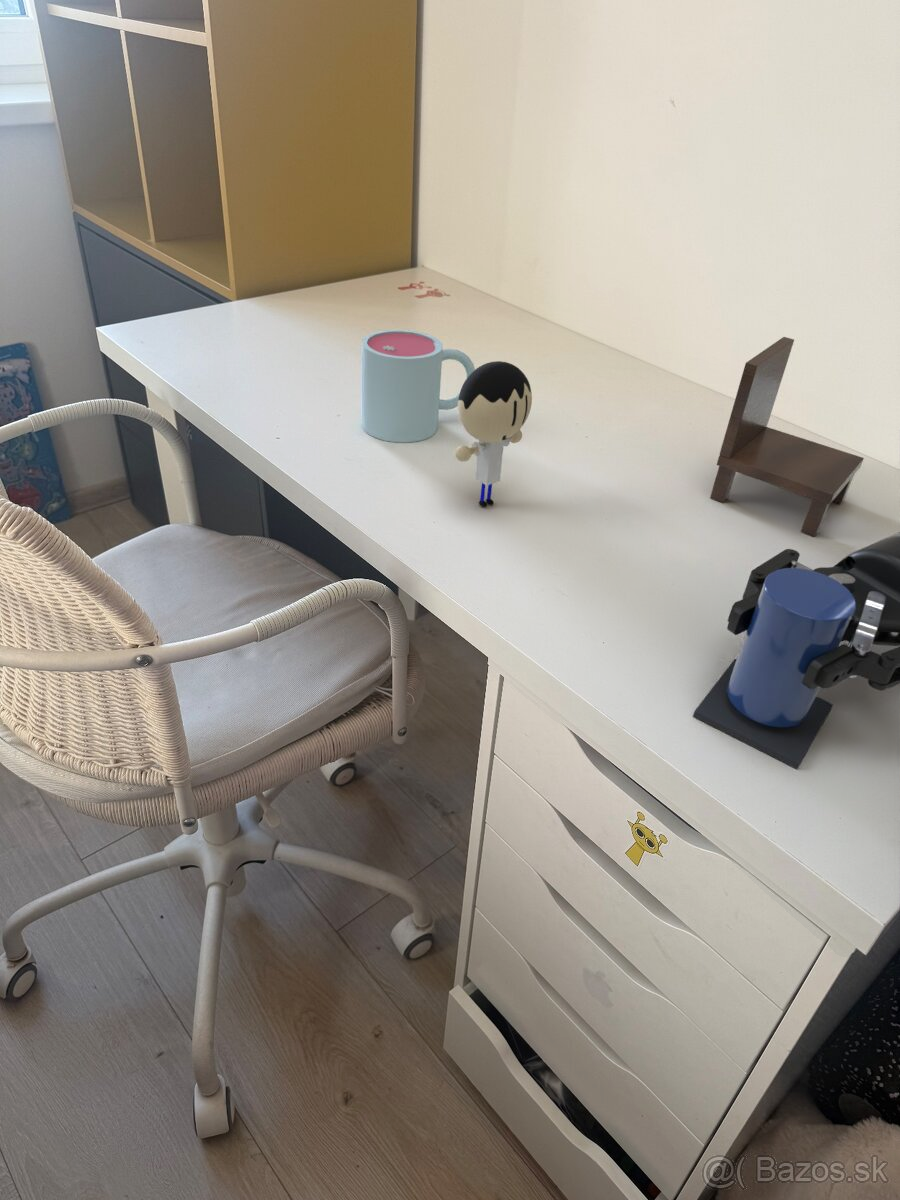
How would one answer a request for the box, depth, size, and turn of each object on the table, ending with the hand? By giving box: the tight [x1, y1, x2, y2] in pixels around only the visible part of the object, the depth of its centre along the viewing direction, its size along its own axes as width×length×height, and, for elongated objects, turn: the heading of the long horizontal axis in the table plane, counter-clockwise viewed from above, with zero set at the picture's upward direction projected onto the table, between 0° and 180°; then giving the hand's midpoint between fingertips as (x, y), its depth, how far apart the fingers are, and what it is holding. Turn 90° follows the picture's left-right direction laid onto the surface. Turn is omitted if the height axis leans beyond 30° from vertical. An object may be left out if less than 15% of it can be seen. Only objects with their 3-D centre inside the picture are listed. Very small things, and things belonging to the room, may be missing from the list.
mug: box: [361, 329, 476, 444], centre depth 97 cm, size 14×9×10 cm
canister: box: [727, 568, 856, 727], centre depth 59 cm, size 6×6×10 cm
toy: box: [455, 360, 533, 508], centre depth 81 cm, size 9×7×15 cm
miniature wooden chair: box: [709, 336, 865, 538], centre depth 86 cm, size 12×11×15 cm
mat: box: [692, 658, 834, 770], centre depth 63 cm, size 8×8×1 cm
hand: (770, 648), depth 58 cm, fingers closed on canister, 6 cm apart
